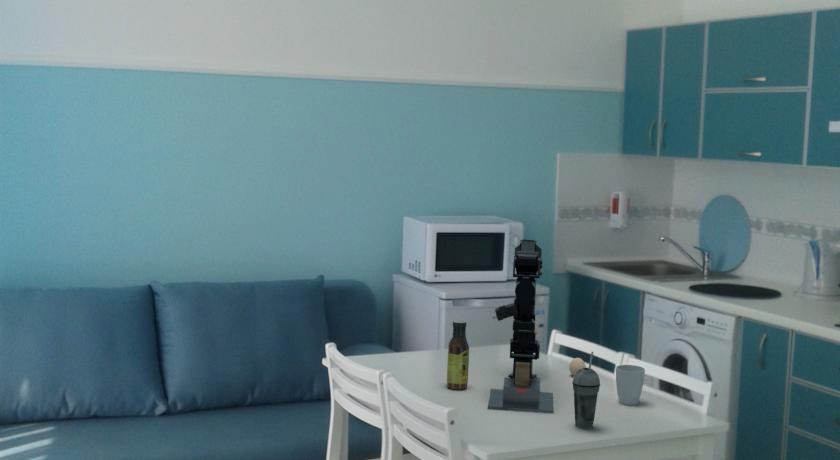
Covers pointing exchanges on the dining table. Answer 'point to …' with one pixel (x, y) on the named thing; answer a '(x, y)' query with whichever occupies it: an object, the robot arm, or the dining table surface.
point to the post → (522, 373)
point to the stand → (521, 397)
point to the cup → (629, 383)
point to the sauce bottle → (458, 357)
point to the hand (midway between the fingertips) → (523, 349)
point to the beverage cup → (585, 396)
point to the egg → (576, 365)
